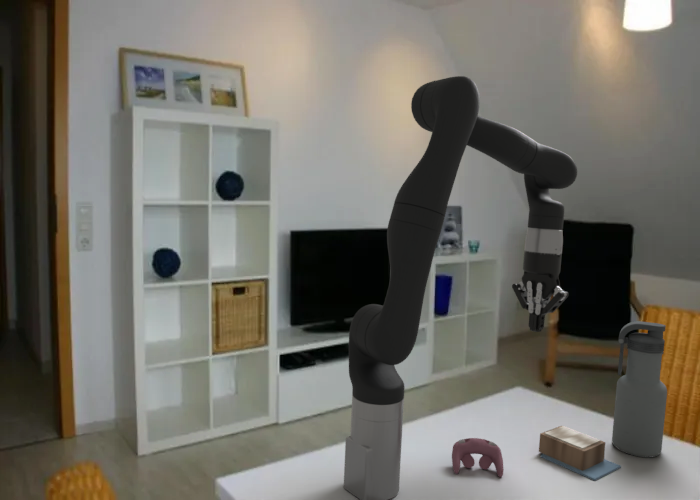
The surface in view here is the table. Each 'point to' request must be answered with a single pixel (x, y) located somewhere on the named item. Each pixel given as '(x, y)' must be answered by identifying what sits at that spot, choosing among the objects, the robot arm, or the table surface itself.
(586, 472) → the rubber mat
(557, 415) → the table surface
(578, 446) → the wooden block
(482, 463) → the video game controller
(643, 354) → the water bottle
